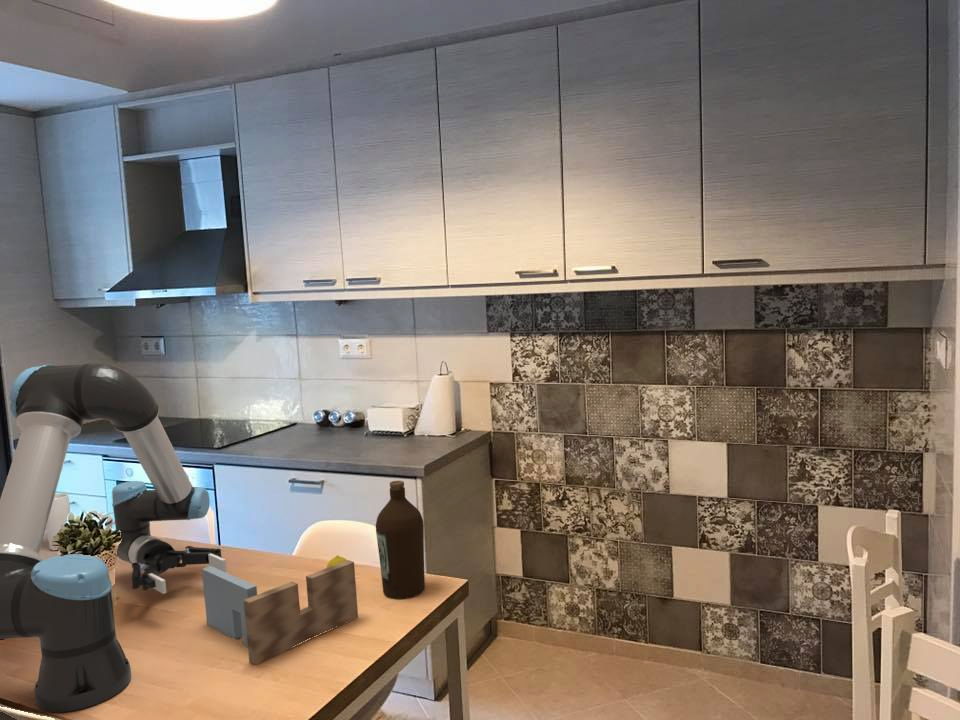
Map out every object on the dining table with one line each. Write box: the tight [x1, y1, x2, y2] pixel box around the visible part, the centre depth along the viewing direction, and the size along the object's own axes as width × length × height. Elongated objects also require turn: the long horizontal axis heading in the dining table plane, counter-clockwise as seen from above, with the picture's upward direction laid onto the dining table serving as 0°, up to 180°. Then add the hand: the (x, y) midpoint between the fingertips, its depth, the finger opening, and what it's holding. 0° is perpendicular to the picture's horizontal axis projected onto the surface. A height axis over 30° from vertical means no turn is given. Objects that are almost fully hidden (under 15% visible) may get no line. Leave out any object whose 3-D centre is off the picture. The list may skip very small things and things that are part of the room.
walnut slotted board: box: [244, 559, 359, 666], centre depth 146 cm, size 24×2×12 cm, turn 137°
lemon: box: [326, 555, 348, 568], centre depth 169 cm, size 6×6×8 cm
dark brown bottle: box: [375, 480, 426, 600], centre depth 166 cm, size 11×11×25 cm
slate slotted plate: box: [201, 566, 258, 647], centre depth 149 cm, size 18×2×12 cm, turn 47°
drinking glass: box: [45, 492, 71, 549], centre depth 209 cm, size 7×7×15 cm
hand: (195, 576), depth 159 cm, fingers open, 13 cm apart
